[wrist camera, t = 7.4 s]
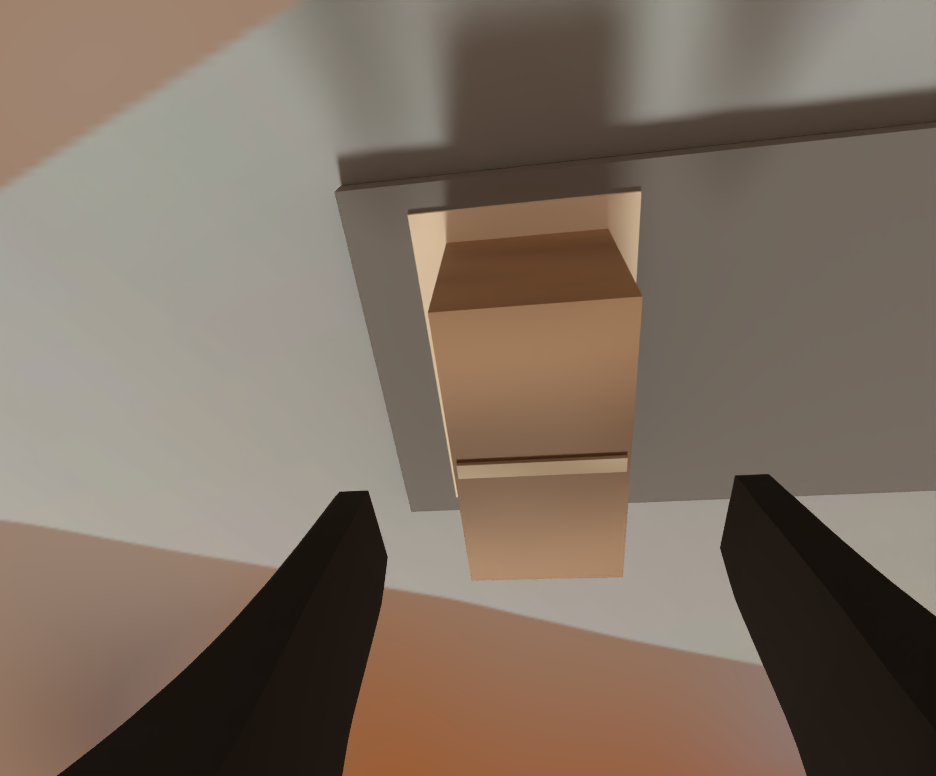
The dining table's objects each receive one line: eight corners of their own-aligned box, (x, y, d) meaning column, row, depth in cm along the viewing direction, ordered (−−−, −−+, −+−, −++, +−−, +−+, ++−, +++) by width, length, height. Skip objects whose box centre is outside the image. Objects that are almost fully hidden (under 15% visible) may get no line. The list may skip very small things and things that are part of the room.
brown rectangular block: (600, 473, 18) (623, 580, 14) (477, 478, 18) (471, 583, 15) (608, 228, 13) (644, 298, 10) (446, 242, 14) (427, 315, 10)
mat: (1143, 99, 12) (1175, 103, 11) (954, 475, 18) (970, 491, 17) (340, 186, 14) (333, 193, 13) (413, 499, 20) (411, 513, 19)
